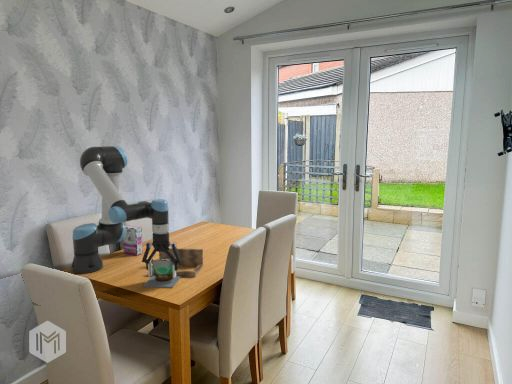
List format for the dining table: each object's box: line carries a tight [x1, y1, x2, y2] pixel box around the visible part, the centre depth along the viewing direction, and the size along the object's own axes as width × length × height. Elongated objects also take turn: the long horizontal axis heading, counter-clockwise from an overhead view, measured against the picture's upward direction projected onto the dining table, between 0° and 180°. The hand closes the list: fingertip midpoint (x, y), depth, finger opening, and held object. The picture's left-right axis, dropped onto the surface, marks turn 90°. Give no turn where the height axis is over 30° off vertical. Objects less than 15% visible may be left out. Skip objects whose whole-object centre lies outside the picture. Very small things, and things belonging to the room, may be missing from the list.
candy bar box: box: [122, 225, 144, 256], centre depth 215 cm, size 11×5×16 cm, turn 62°
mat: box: [142, 275, 182, 289], centre depth 172 cm, size 14×14×1 cm
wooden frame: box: [151, 247, 204, 278], centre depth 187 cm, size 24×18×9 cm
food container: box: [150, 257, 176, 281], centre depth 171 cm, size 12×6×10 cm, turn 107°
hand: (162, 276), depth 171 cm, fingers closed on food container, 11 cm apart
